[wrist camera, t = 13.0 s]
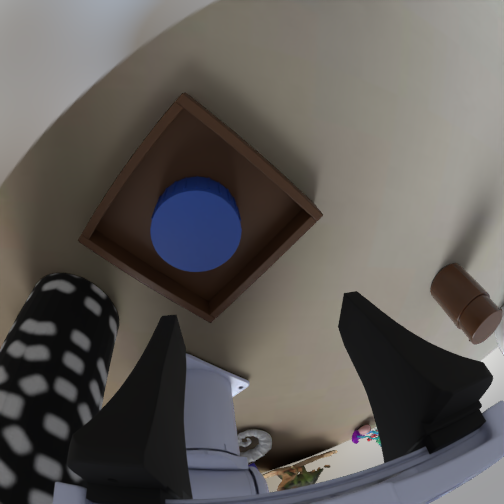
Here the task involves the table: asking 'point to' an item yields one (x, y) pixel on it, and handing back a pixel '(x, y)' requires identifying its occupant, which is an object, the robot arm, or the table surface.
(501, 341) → the cup
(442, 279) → the jar
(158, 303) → the table surface
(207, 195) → the jar lid
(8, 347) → the spotted tube
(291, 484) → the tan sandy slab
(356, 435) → the anatomy model
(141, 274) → the tray
